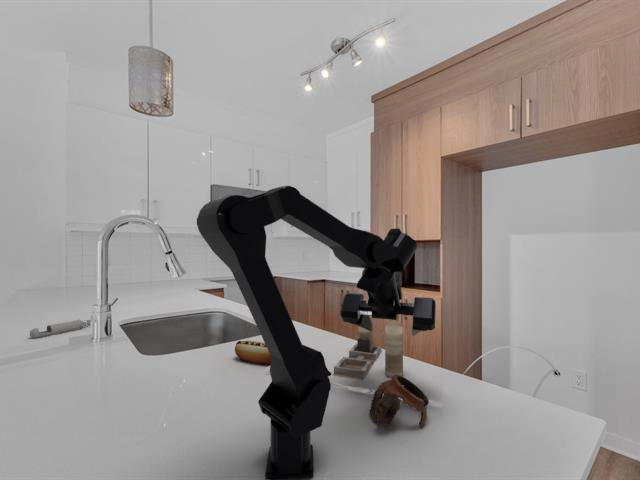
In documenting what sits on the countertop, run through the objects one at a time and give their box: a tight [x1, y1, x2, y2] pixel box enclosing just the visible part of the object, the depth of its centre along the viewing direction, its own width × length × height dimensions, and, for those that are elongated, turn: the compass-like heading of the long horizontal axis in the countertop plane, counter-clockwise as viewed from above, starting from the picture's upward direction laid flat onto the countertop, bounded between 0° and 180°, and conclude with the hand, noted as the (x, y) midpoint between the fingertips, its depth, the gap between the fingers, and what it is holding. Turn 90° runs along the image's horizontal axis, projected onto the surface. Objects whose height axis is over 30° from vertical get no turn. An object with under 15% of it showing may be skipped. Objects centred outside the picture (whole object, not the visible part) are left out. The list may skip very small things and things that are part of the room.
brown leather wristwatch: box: [368, 375, 430, 427], centre depth 56 cm, size 12×10×8 cm
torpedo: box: [29, 319, 92, 339], centre depth 113 cm, size 18×5×7 cm, turn 153°
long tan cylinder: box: [357, 316, 374, 353], centre depth 87 cm, size 4×4×13 cm
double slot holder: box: [332, 343, 383, 381], centre depth 82 cm, size 21×7×3 cm, turn 158°
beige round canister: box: [384, 321, 404, 379], centre depth 74 cm, size 4×4×13 cm
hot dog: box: [234, 340, 271, 365], centre depth 85 cm, size 5×13×5 cm, turn 67°
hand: (392, 331), depth 71 cm, fingers open, 9 cm apart
